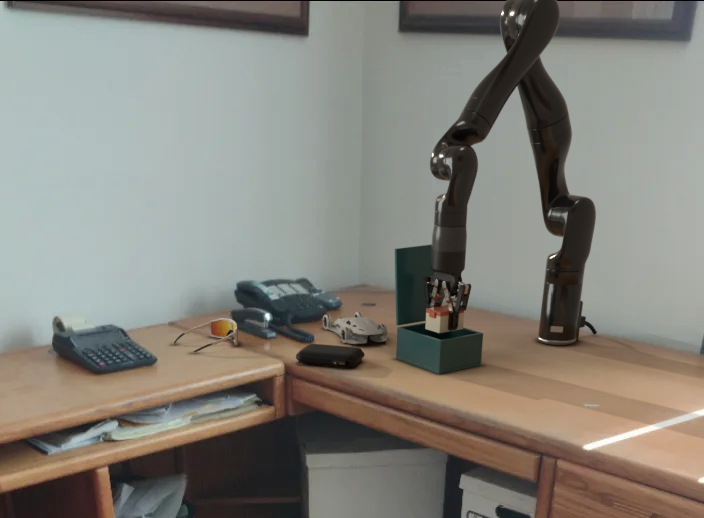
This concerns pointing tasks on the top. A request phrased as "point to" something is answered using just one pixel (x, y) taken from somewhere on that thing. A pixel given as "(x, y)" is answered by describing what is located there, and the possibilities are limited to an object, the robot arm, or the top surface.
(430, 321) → the snack box
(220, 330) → the sunglasses
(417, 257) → the tin lid
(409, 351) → the lunch tin
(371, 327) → the car model
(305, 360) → the carrying case
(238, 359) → the top surface
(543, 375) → the top surface
